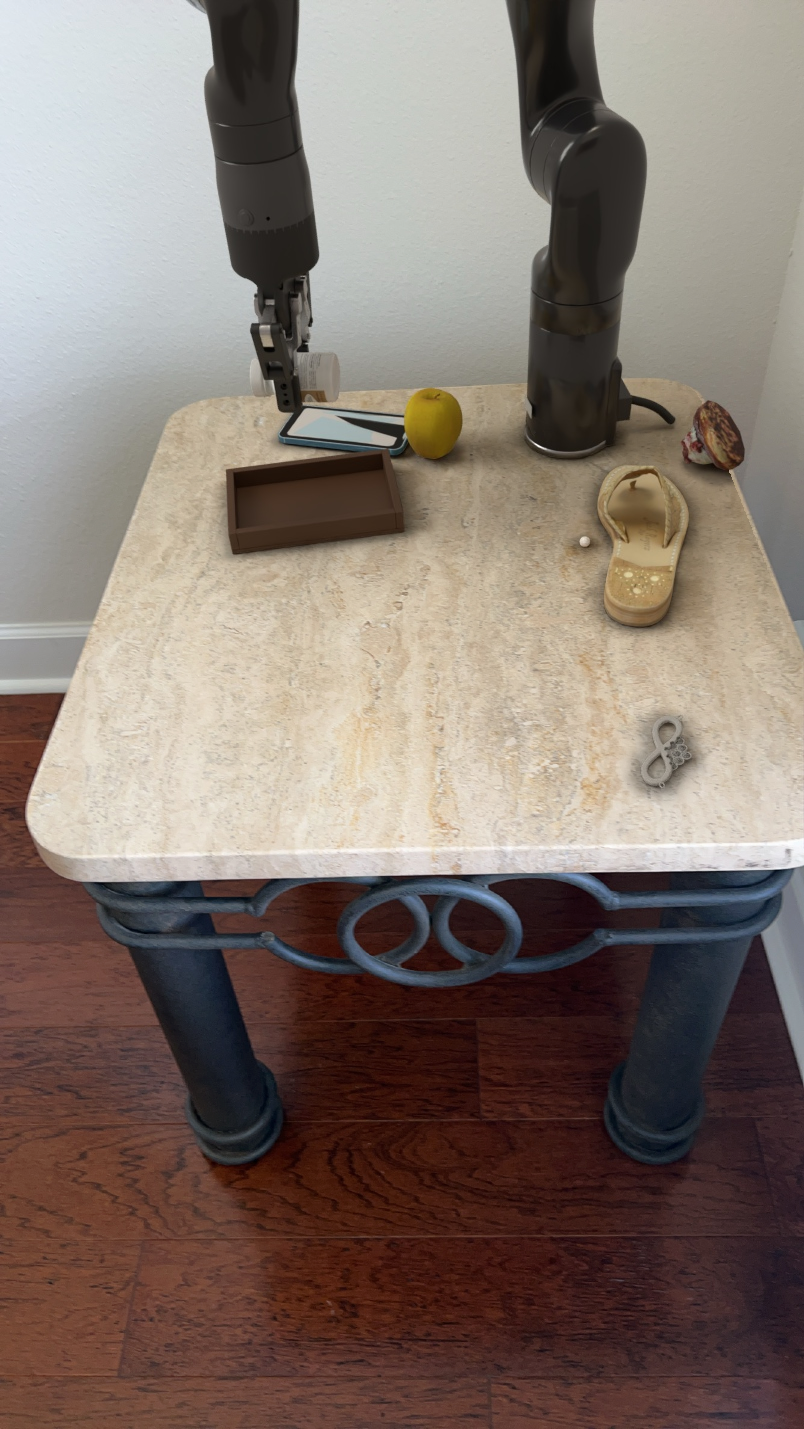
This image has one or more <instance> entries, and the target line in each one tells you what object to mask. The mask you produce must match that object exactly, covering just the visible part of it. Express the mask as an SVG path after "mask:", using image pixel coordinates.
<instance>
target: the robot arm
mask: <svg viewBox="0 0 804 1429" xmlns="http://www.w3.org/2000/svg"><path fill="white" fill-rule="evenodd" d="M185 1H186V2H187V3H188V4H189V5H190V6H192V7H193V8H195V9H196V10H198V11H199V12H201V13H203V14H205V15H206V17H207V20H208V26H209V31H210V40H211V51H212V61H213V65H212V66H211V67H210V68H209V69H208V71H207V72H206V74H205V76H204V82H203V96H204V103H205V110H206V116H207V122H208V126H209V133H210V139H211V144H212V149H213V156H214V162H215V163H214V165H215V166H214V168H215V181H216V190H217V196H218V201H219V206H220V211H221V217H222V221H223V228H224V233H225V239H226V244H227V249H228V255H229V260H230V261H229V262H230V266H231V268H232V270H233V272H234V273H235V274H237V275H238V276H239V277H241V278H243V279H245V280H248V281H250V282H252V283H253V284H254V285H256V287H257V288H256V292H255V293H253V307H254V309H253V310H254V313H255V315H256V316H257V320H258V322H251V324H250V327H249V333H250V336H251V339H252V344H253V347H254V350H255V353H256V356H257V357H256V358H258V360H259V364H260V367H261V371H262V375H263V378H264V380H273V382H274V388H275V394H276V396H275V398H276V405H277V410H278V411H279V412H280V413H282V414H292V413H299V412H300V411H301V409H302V406H303V405H304V404H303V403H304V402H302V396H301V389H300V382H299V375H298V372H299V367H298V363H297V353H310V349H309V343H310V341H311V338H312V337H311V333H310V329H309V328H312V327H313V323H314V318H313V310H312V296H311V295H312V294H311V280H310V271H311V270H313V269H314V268H315V267H316V265H317V264H318V262H319V260H320V247H319V240H318V231H317V222H316V214H315V206H314V197H313V188H312V181H311V174H310V169H309V164H308V161H307V157H306V153H305V148H304V143H303V142H304V141H303V134H302V125H301V117H300V108H299V101H298V100H299V99H298V94H297V90H296V89H297V88H296V72H297V64H298V56H299V55H298V53H299V32H300V30H299V29H300V7H301V6H300V2H301V1H300V0H185ZM596 2H597V0H505V7H506V13H507V18H508V23H509V27H510V32H511V38H512V43H513V49H514V57H515V58H514V60H515V68H516V79H517V96H518V113H519V130H520V131H519V132H520V133H519V134H520V135H519V136H520V148H521V150H520V151H521V159H522V164H523V169H524V173H525V175H526V178H527V180H528V182H529V184H530V186H531V188H532V189H533V190H534V191H535V193H536V194H537V195H538V196H539V197H540V198H541V199H542V200H544V202H546V203H547V204H548V205H549V206H550V223H549V234H548V243H547V244H546V245H544V246H542V247H541V248H540V249H539V250H538V251H537V252H536V253H535V255H534V256H533V258H532V261H531V266H530V289H529V290H530V294H529V295H530V296H529V321H528V322H529V324H528V352H527V353H528V355H527V378H526V379H527V381H526V383H527V384H526V394H524V401H523V402H524V405H523V407H524V408H525V410H526V412H525V425H524V440H525V441H526V443H527V444H528V446H529V447H530V448H531V449H532V450H534V451H536V452H537V453H539V454H542V455H544V456H547V457H552V458H557V459H579V458H585V457H589V456H591V455H594V454H596V453H598V452H600V451H601V450H603V449H604V448H606V447H608V446H609V447H610V446H614V445H615V442H616V441H615V440H616V431H617V424H618V423H617V422H624V421H630V420H631V414H632V413H631V412H632V406H633V405H634V406H638V407H642V408H645V409H647V410H650V411H652V412H654V413H656V414H657V415H658V416H660V418H662V420H664V421H665V423H666V424H668V425H669V426H671V425H674V424H675V422H676V420H677V419H676V417H675V416H674V415H673V414H672V413H671V412H670V411H669V410H668V409H667V408H666V407H664V406H663V405H662V404H660V403H659V402H657V401H654V400H651V399H648V398H645V397H641V396H637V395H634V394H631V392H630V391H629V389H628V387H627V385H626V384H625V382H624V380H623V378H622V375H623V364H622V361H621V360H620V358H619V356H618V352H619V341H620V340H619V339H620V331H621V330H620V329H621V319H622V310H623V300H624V290H625V281H626V274H627V271H628V270H629V268H630V266H631V264H632V262H633V260H634V257H635V255H636V250H637V246H638V241H639V234H640V228H641V221H642V215H643V210H644V209H643V208H644V201H645V194H646V187H647V178H648V177H647V176H648V155H647V154H648V153H647V148H646V144H645V141H644V138H643V136H642V134H641V133H640V131H639V129H638V128H637V127H636V126H635V125H634V124H633V123H632V122H630V121H629V120H628V119H626V118H625V117H623V116H622V115H620V114H618V113H617V112H615V111H614V110H612V109H611V108H609V107H608V106H607V103H606V102H605V99H604V95H603V91H602V86H601V80H600V75H599V69H598V60H597V54H596V46H595V34H594V32H595V30H594V20H595V19H594V17H595V9H596Z"/></svg>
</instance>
